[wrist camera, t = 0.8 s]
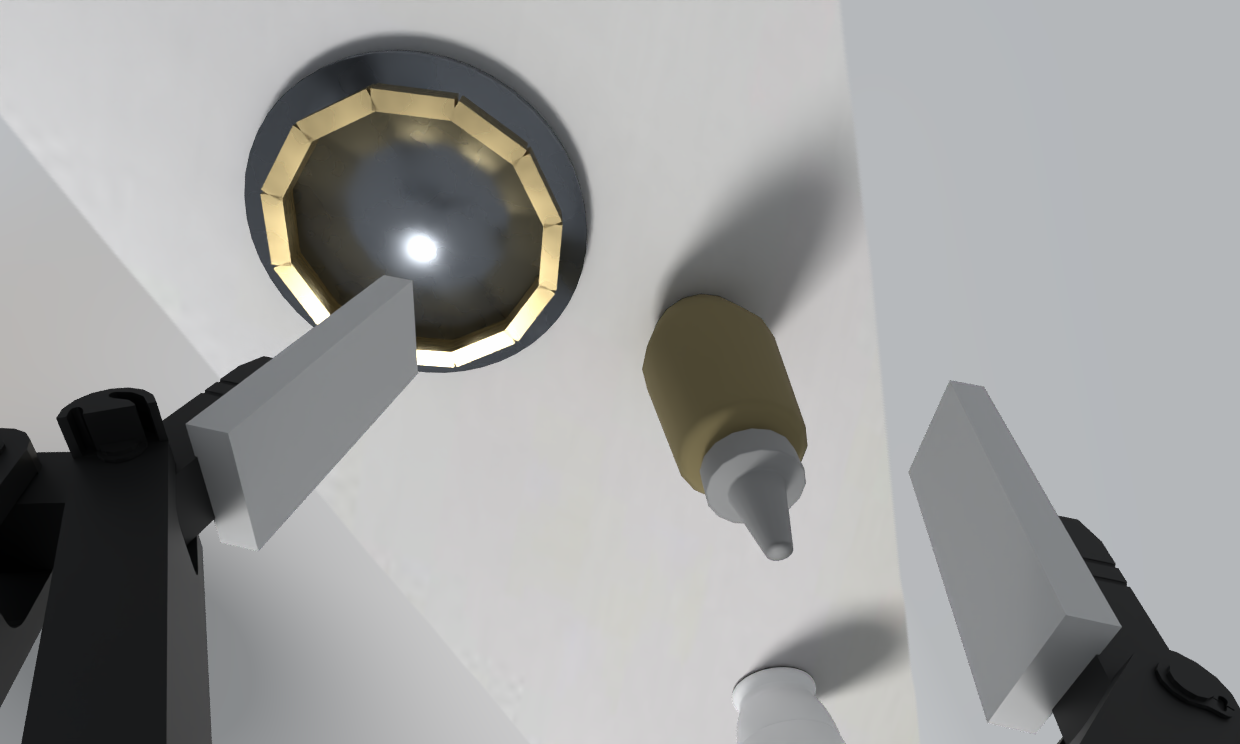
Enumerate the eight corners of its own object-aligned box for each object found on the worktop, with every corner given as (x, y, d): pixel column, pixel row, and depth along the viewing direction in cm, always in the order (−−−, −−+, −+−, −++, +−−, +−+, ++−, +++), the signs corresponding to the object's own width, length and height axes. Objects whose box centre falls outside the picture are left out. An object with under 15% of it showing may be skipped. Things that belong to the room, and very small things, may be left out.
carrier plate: (174, 140, 33) (147, 153, 31) (492, -16, 30) (487, -14, 28) (377, 402, 42) (368, 425, 40) (632, 300, 40) (636, 319, 38)
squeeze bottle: (783, 297, 40) (916, 501, 25) (727, 398, 44) (815, 626, 29) (665, 259, 38) (733, 456, 23) (618, 368, 42) (651, 597, 27)
